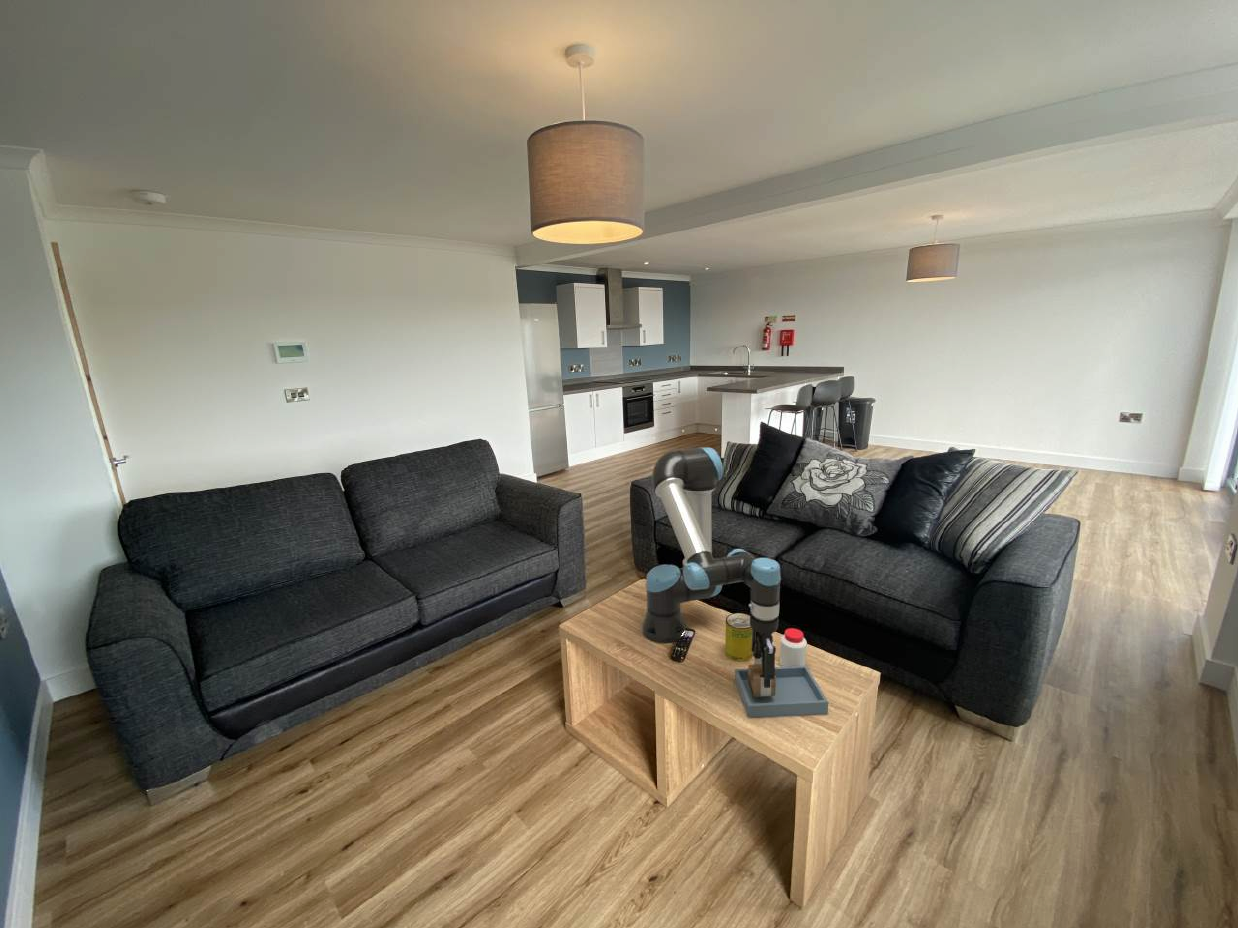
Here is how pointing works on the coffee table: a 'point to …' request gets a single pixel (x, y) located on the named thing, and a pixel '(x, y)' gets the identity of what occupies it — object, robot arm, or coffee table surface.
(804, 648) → the pill bottle
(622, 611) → the coffee table surface
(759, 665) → the walnut cube
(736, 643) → the beverage can
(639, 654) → the coffee table surface
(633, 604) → the coffee table surface
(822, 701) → the blue-grey tray
